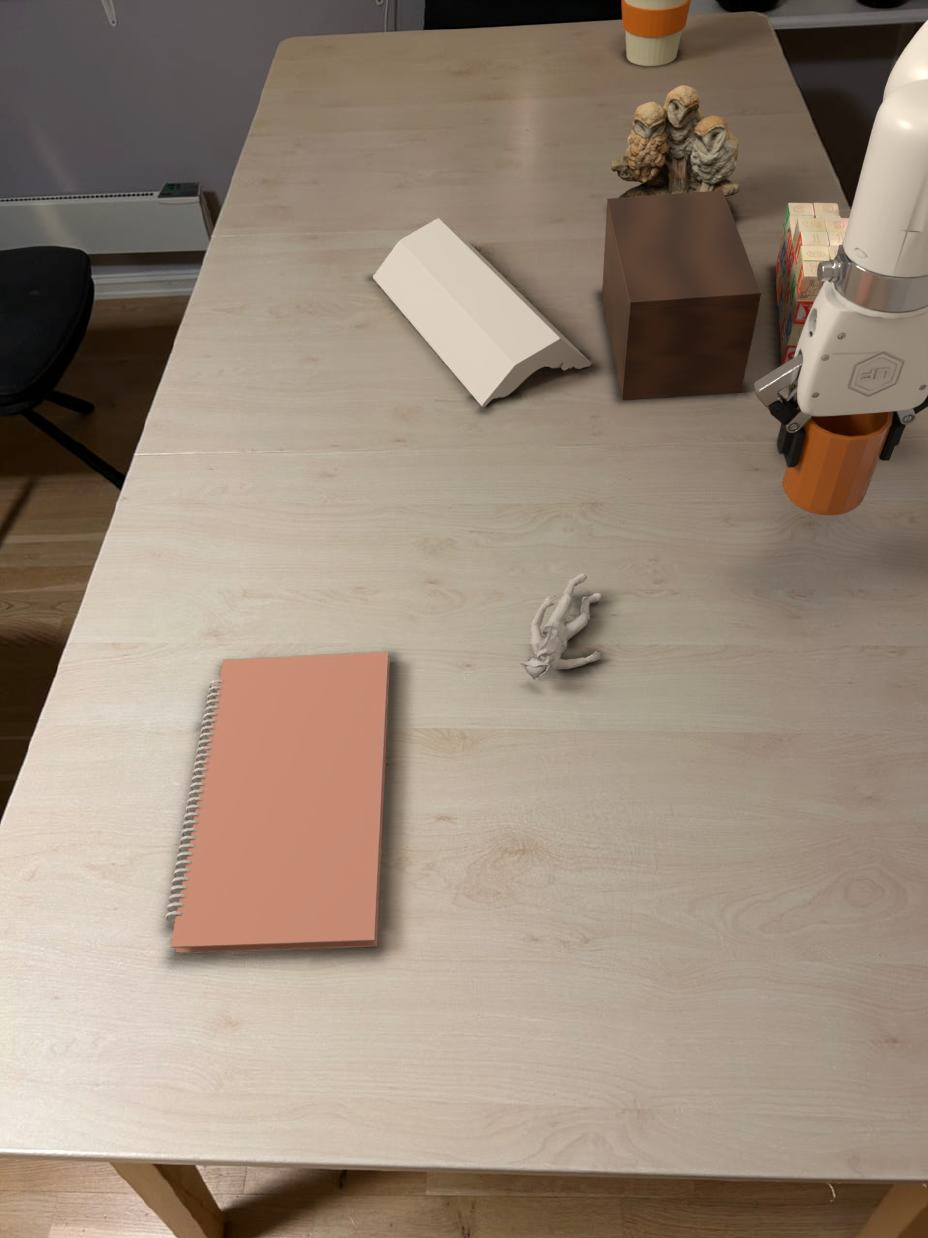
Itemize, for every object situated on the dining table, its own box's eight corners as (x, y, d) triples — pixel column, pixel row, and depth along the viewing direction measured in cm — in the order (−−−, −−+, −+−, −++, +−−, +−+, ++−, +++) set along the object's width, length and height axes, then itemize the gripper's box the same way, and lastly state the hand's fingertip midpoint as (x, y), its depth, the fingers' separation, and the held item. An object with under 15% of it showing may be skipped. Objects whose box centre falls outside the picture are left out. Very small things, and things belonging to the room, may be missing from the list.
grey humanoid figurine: (621, 618, 92) (592, 689, 82) (582, 638, 95) (550, 708, 85) (574, 558, 90) (539, 623, 81) (536, 579, 93) (498, 645, 83)
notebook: (216, 670, 90) (211, 658, 88) (390, 661, 89) (387, 649, 88) (163, 954, 73) (155, 946, 71) (377, 947, 72) (373, 938, 71)
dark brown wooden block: (707, 287, 124) (723, 189, 113) (741, 392, 110) (761, 292, 100) (601, 294, 124) (607, 198, 114) (622, 400, 111) (630, 301, 100)
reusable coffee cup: (649, 35, 175) (657, -60, 163) (701, 53, 168) (713, -45, 157) (602, 57, 170) (606, -40, 158) (653, 76, 164) (662, -23, 152)
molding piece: (420, 310, 137) (372, 276, 130) (470, 243, 133) (424, 205, 126) (529, 436, 118) (481, 405, 111) (591, 363, 115) (546, 327, 107)
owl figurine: (603, 231, 134) (609, 107, 120) (613, 190, 141) (621, 68, 127) (731, 239, 130) (753, 111, 117) (736, 196, 137) (757, 71, 124)
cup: (852, 457, 87) (878, 379, 80) (874, 512, 83) (904, 435, 76) (774, 462, 88) (793, 385, 81) (792, 518, 83) (814, 442, 76)
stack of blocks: (773, 268, 125) (793, 177, 116) (822, 269, 124) (845, 178, 115) (781, 367, 112) (803, 274, 103) (835, 369, 111) (863, 276, 102)
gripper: (781, 311, 66) (742, 490, 80) (1032, 291, 65) (949, 476, 79) (758, 253, 71) (725, 432, 85) (993, 234, 70) (921, 417, 84)
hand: (834, 452), depth 82 cm, fingers closed on cup, 7 cm apart
